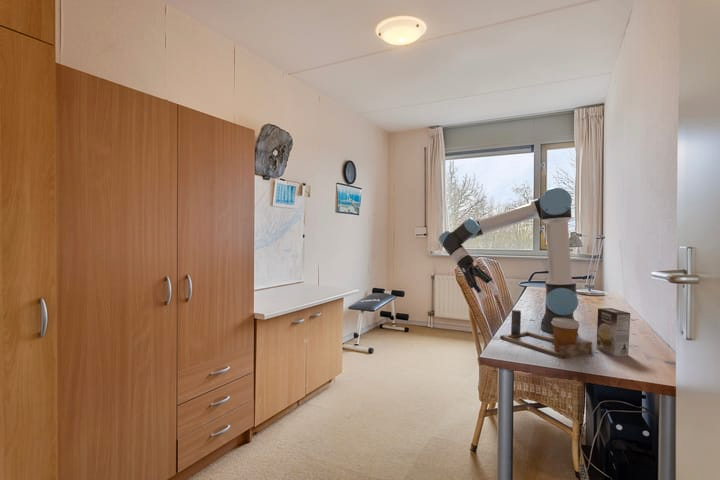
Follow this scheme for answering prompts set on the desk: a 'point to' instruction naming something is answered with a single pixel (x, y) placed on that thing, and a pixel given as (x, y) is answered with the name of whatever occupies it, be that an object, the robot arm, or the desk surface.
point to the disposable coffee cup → (564, 331)
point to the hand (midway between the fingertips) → (491, 295)
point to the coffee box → (613, 331)
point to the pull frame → (564, 350)
